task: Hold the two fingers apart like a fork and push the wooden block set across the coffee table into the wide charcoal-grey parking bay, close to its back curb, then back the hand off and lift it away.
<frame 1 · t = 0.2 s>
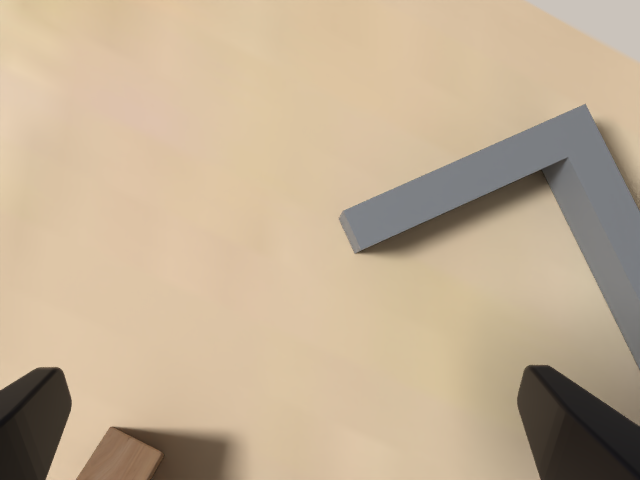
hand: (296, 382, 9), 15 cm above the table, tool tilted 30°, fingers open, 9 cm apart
parking bay: (564, 429, 24), on the table
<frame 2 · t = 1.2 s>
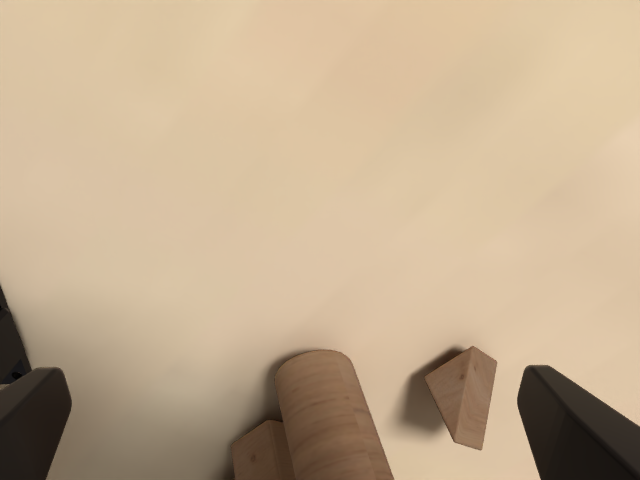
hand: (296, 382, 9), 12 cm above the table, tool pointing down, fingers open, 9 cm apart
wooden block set: (321, 411, 26), on the table
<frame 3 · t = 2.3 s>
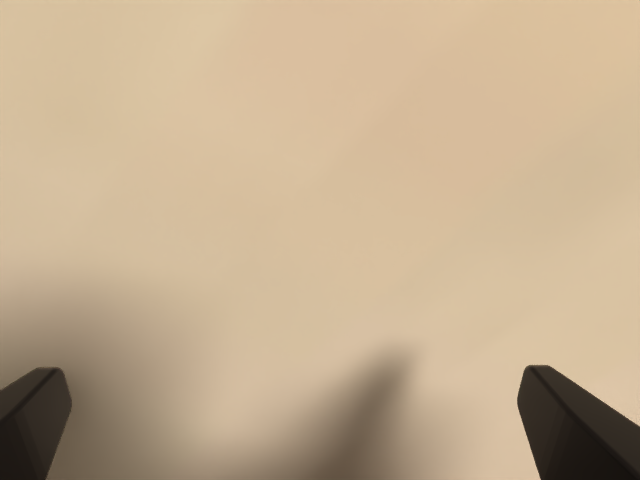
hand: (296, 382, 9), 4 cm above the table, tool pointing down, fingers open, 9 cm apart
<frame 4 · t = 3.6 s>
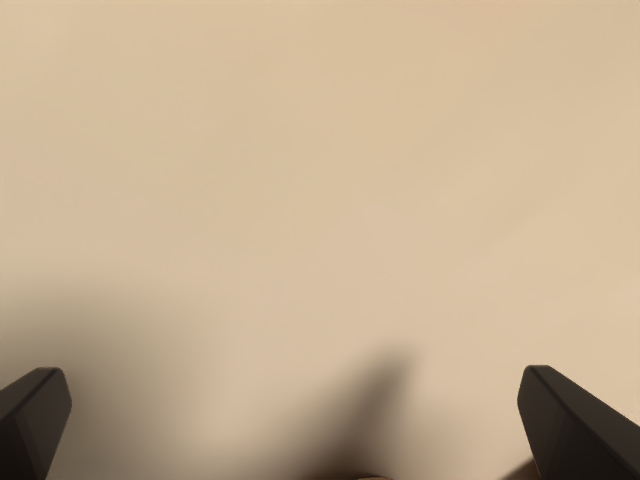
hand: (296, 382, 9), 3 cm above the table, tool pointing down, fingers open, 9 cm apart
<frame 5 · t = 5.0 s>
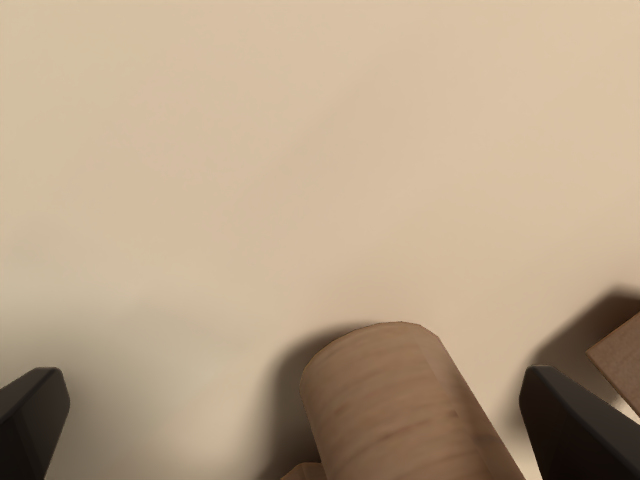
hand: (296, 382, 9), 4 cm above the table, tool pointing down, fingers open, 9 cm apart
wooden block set: (392, 433, 15), on the table, touching gripper
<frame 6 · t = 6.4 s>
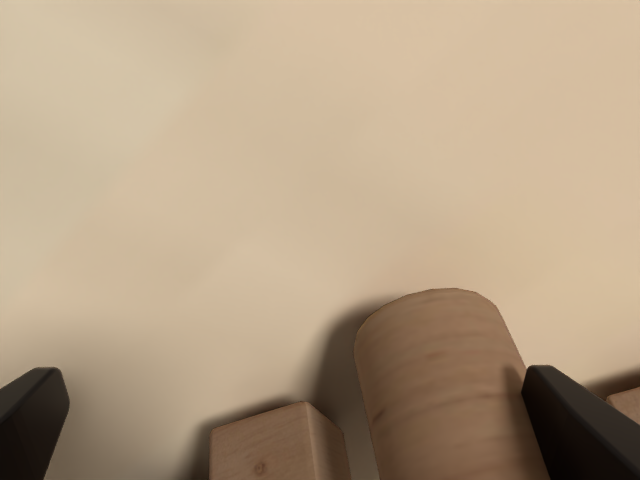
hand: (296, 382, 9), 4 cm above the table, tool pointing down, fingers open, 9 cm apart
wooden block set: (379, 409, 15), on the table, touching gripper
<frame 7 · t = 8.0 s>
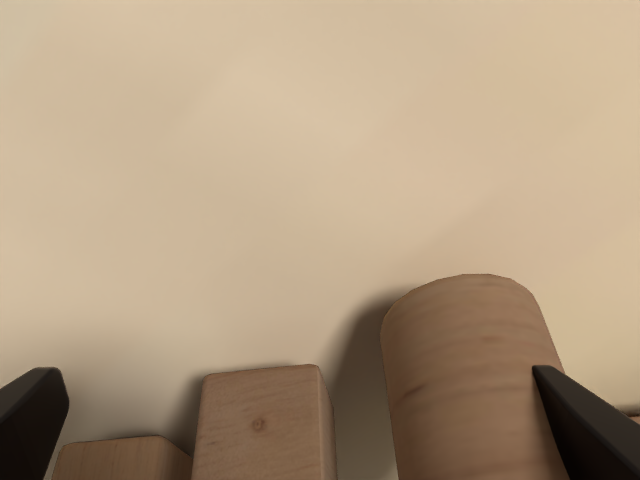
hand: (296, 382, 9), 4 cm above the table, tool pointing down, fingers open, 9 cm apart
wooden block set: (373, 391, 14), on the table, touching gripper
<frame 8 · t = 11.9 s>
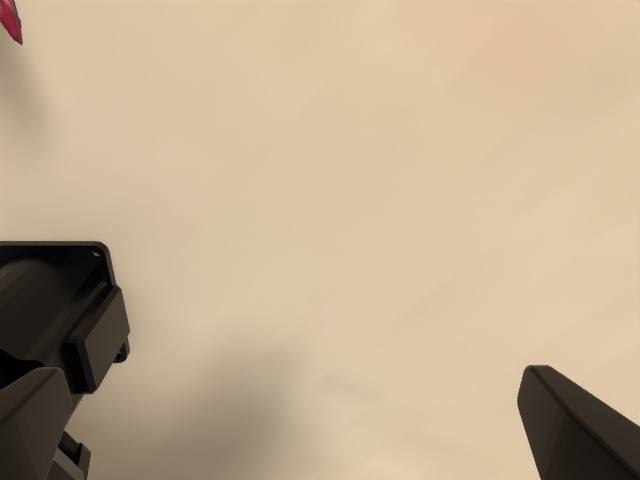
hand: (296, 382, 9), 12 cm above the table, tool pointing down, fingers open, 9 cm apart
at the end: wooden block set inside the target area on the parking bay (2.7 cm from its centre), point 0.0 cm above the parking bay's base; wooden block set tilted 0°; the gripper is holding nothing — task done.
